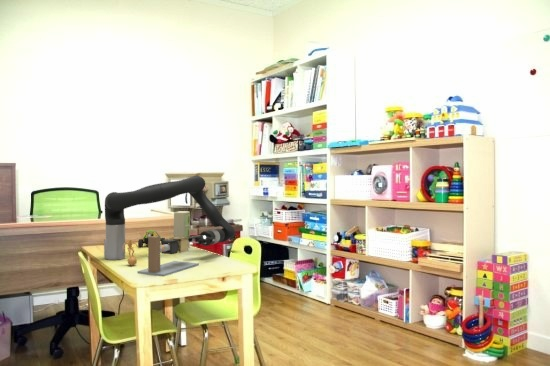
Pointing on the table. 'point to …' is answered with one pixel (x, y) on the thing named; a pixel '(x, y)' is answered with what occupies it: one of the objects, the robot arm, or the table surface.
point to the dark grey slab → (172, 246)
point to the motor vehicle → (141, 242)
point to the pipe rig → (154, 260)
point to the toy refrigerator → (182, 224)
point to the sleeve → (181, 244)
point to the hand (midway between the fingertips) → (191, 241)
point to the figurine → (132, 260)
